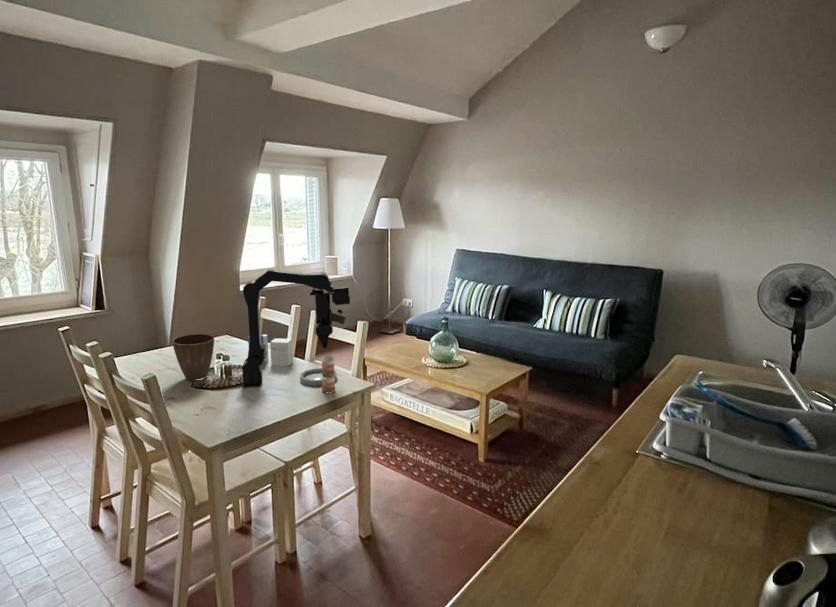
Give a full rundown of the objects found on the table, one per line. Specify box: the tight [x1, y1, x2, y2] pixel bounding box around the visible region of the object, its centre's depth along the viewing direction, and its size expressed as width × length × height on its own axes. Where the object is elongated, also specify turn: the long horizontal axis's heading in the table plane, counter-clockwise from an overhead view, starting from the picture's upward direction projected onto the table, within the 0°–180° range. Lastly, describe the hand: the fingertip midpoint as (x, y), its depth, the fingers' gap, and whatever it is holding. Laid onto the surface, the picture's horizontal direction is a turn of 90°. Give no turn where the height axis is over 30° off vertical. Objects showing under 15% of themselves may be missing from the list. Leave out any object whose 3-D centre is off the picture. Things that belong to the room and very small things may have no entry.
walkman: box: [247, 334, 269, 363], centre depth 211 cm, size 8×3×12 cm, turn 117°
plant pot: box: [171, 333, 215, 381], centre depth 191 cm, size 15×15×16 cm
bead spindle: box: [321, 355, 336, 394], centre depth 182 cm, size 5×5×13 cm
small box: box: [269, 338, 294, 367], centre depth 210 cm, size 8×6×10 cm
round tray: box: [299, 367, 338, 386], centre depth 194 cm, size 14×14×2 cm
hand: (325, 344), depth 190 cm, fingers open, 9 cm apart
